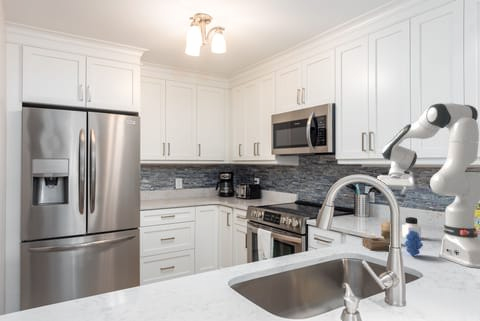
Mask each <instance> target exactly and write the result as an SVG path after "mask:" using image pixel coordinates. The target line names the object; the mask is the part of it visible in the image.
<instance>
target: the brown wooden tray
mask: <svg viewBox="0 0 480 321" xmlns="http://www.w3.org/2000/svg"><path fill="white" fill-rule="evenodd" d="M361 239H362V241H361V242H362V246H363V247H364V248H366V249H368V250H369V251H381V252H382V251H383V252H385V251H386V252H387V251H388V250H389V245H390V242H391V241H390V242H389V241H387V240H385V239H384V237H362V238H361Z"/></svg>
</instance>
